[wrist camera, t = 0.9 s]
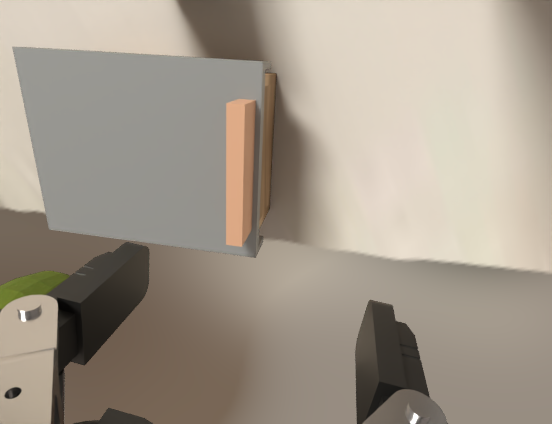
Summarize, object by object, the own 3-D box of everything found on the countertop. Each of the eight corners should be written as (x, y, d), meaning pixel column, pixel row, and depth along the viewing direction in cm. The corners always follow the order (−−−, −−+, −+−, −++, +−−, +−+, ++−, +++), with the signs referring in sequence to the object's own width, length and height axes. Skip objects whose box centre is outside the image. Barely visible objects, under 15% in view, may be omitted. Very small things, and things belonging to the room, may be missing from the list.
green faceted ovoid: (99, 261, 44) (22, 323, 34) (101, 317, 48) (32, 389, 37) (34, 245, 45) (-62, 300, 35) (40, 301, 49) (-45, 367, 38)
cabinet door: (271, 61, 28) (252, 61, 22) (263, 241, 33) (246, 277, 28) (42, 48, 30) (-25, 45, 25) (71, 216, 36) (22, 244, 31)
